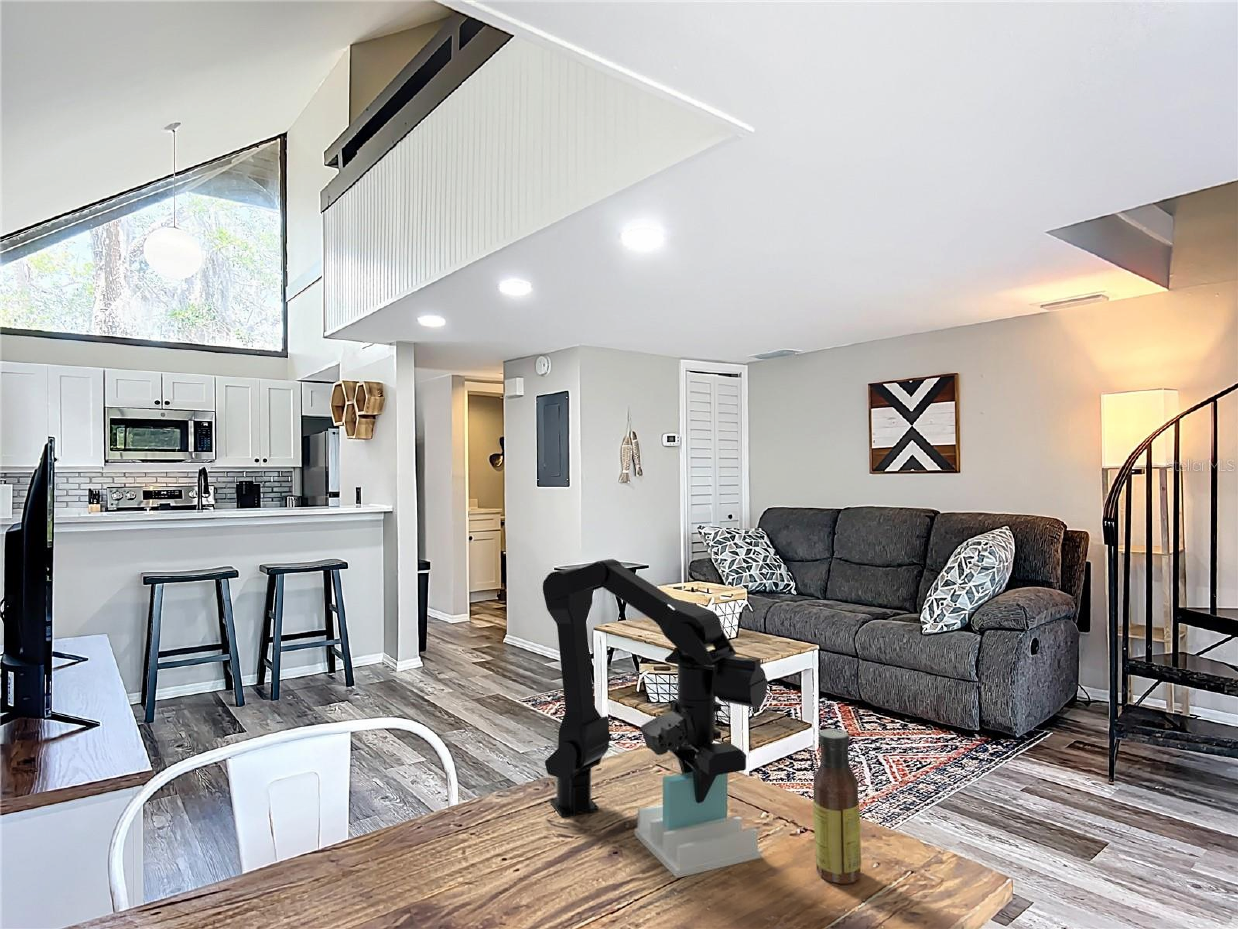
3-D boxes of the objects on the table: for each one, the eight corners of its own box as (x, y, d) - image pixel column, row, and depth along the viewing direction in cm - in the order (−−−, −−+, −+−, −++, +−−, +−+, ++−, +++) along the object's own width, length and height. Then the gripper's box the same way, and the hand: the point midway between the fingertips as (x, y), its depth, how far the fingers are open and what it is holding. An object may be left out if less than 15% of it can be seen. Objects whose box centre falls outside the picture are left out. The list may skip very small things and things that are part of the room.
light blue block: (662, 824, 115) (662, 777, 115) (720, 812, 119) (720, 766, 119) (668, 830, 113) (669, 782, 113) (727, 817, 117) (727, 771, 117)
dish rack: (634, 835, 119) (634, 809, 119) (712, 819, 125) (712, 794, 125) (676, 878, 107) (676, 849, 107) (761, 857, 112) (761, 830, 112)
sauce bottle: (856, 864, 110) (856, 726, 111) (865, 888, 104) (866, 741, 104) (809, 862, 111) (810, 724, 111) (816, 885, 105) (817, 739, 105)
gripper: (622, 685, 121) (621, 784, 121) (679, 721, 104) (678, 836, 104) (684, 677, 126) (683, 773, 125) (748, 711, 109) (748, 821, 108)
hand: (695, 799), depth 116 cm, fingers closed on light blue block, 2 cm apart
